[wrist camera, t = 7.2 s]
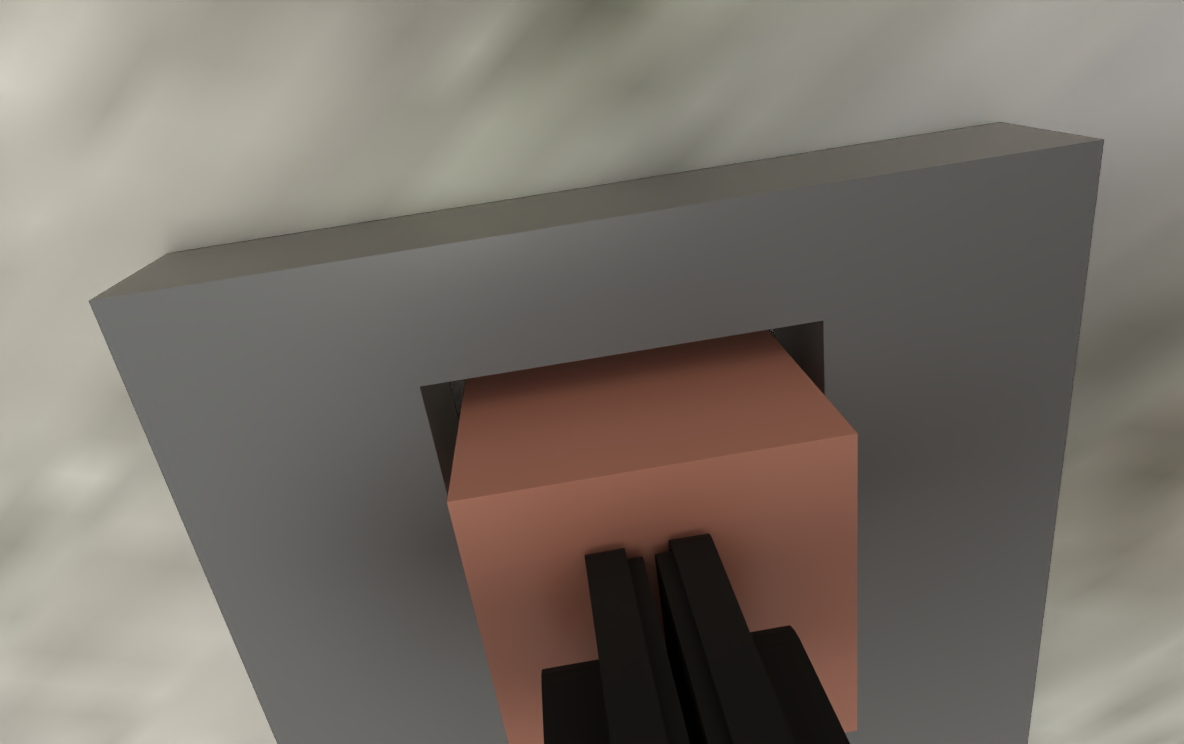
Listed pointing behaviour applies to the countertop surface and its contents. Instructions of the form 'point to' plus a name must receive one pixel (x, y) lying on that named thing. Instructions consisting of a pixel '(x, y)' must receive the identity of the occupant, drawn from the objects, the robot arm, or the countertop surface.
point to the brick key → (654, 502)
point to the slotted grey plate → (614, 326)
